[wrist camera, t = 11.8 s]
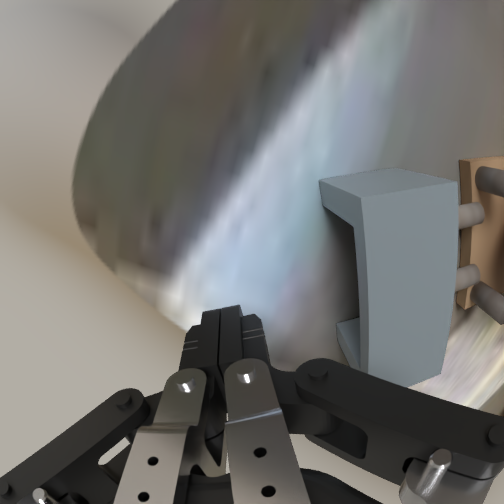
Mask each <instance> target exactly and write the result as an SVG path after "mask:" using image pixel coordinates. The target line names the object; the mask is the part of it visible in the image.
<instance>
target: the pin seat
mask: <svg viewBox="0 0 504 504" xmlns="http://www.w3.org/2000/svg"><path fill="white" fill-rule="evenodd" d="M459 165H460V180H461V205H458V230H459V229H461V256H460V268H458V269H457V271H456V283H455V292H457V291H458V292H457V300H456V303H458V304H459V305H460V306H461V307H462V308H463V309H467V308H469V307H472V306H474V305H478V306H479V307H480V308H481V309H482V310H484V311H485V312H486V313H487V314H489V315H490V316H491V317H492V318H493V319H494V320H496V321H497V322H498V323H499V324H501V325H502V324H504V296H502V295H501V293H503V292H504V156H497V157H485V158H474V159H463V160H459Z"/></svg>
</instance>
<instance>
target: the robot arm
mask: <svg viewBox="0 0 504 504" xmlns="http://www.w3.org/2000/svg"><path fill="white" fill-rule="evenodd" d="M184 343H185V344H184V346H183V351H182V357H181V361H180V366H179V371H178V372H176V373H174V374H173V375H172V376H170V377H169V379H168V380H167V382H166V385H165V387H164V390H163V391H161V392H159V393H157V394H153V395H150V396H147V397H144V396H143V394H142V393H141V392H140V391H139V390H137V389H133V388H129V389H123V390H120V391H118V392H116V393H115V394H113V395H112V396H111V397H109V398H108V399H107V400H105V402H103V403H102V404H100V405H99V406H98V407H96V408H95V409H94V410H92V411H91V412H90V413H88V414H87V415H86V416H84V417H83V418H82V419H80V420H79V421H78V422H76V423H75V424H74V425H72V426H71V427H70V428H68V429H67V430H66V431H65V432H63V433H62V434H60V435H59V436H58V437H56V438H55V439H54V440H52V441H51V442H50V443H48V444H47V445H45V446H44V447H43V448H41V449H40V450H39V451H37V452H36V453H34V454H33V455H32V456H30V457H29V458H27V459H26V460H25V461H23V462H22V463H21V464H19V465H18V466H16V467H15V468H14V469H12V470H11V471H9V472H8V473H7V474H5V475H4V476H2V477H1V478H0V504H382V503H381V502H379V501H377V500H375V499H373V498H371V497H369V496H367V495H365V494H363V493H362V492H360V491H358V490H356V489H355V488H353V487H351V486H349V485H348V484H346V483H344V482H342V481H341V480H339V479H337V478H335V477H333V476H331V475H329V474H326V473H323V472H320V471H316V470H311V469H303V468H299V465H298V462H297V458H296V455H295V452H294V449H293V446H292V443H291V439H290V436H289V434H304V435H305V436H306V438H307V439H308V440H310V441H311V442H313V443H315V444H317V445H318V446H320V447H322V448H324V449H326V450H327V451H329V452H331V453H333V454H335V455H337V456H339V457H340V458H342V459H344V460H346V461H348V462H350V463H352V464H354V465H356V466H358V467H360V468H362V469H364V470H366V471H368V472H370V473H372V474H375V475H377V476H379V477H381V478H383V479H386V480H388V481H390V482H392V483H395V484H397V485H399V486H400V490H399V497H400V500H401V502H402V504H483V502H484V500H485V498H486V496H487V493H488V491H489V489H490V487H491V484H492V482H493V480H494V479H495V478H496V477H497V475H498V474H499V473H500V472H501V470H502V469H503V468H504V417H502V416H498V415H495V414H491V413H487V412H483V411H480V410H476V409H473V408H469V407H466V406H462V405H459V404H456V403H452V402H449V401H446V400H443V399H440V398H436V397H433V396H430V395H427V394H424V393H421V392H418V391H415V390H412V389H409V388H406V387H403V386H400V385H397V384H395V383H392V382H389V381H386V380H383V379H381V378H378V377H375V376H372V375H370V374H367V373H364V372H362V371H359V370H356V369H354V368H351V367H348V366H346V365H343V364H341V363H338V362H336V361H333V360H330V359H325V358H319V359H313V360H309V361H307V362H305V363H303V364H302V365H301V366H299V367H298V369H297V370H296V372H285V371H280V370H277V369H275V368H273V367H272V366H271V364H270V359H269V353H268V348H267V344H266V339H265V335H264V331H263V326H262V322H261V319H260V318H259V317H257V316H256V315H255V314H251V315H247V316H243V315H242V311H241V307H240V305H235V306H230V307H225V308H222V309H215V310H210V311H205V312H203V313H202V319H201V325H195V326H192V327H191V328H190V330H189V331H188V332H187V333H186V337H185V341H184ZM226 413H228V421H227V419H226V418H227V417H226ZM124 437H126V439H127V440H128V441H129V443H130V444H129V445H128V446H127V447H126V448H125V449H123V450H122V451H121V452H120V453H119V454H117V455H116V456H115V457H114V458H112V459H111V460H110V461H109V462H108V463H106V464H104V465H99V464H98V461H99V459H100V457H101V456H102V455H104V454H105V453H106V452H107V451H109V450H110V449H111V448H112V447H113V446H115V445H116V444H117V443H118V442H120V441H121V440H122V439H123V438H124ZM227 452H228V460H229V468H230V473H228V474H226V457H227Z"/></svg>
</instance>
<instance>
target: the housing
mask: <svg viewBox="0 0 504 504" xmlns="http://www.w3.org/2000/svg"><path fill="white" fill-rule="evenodd" d="M319 184H320V190H321V197H322V203H323V206H325V207H326V208H328V209H329V210H331V211H332V212H333V213H335V214H336V215H338V216H339V217H340V218H342V219H343V220H345V221H346V222H347V223H349V224H350V225H352V226H353V227H354V236H355V247H356V258H357V272H358V288H359V308H360V317H359V318H355V319H352V320H348V321H344V322H340V323H336V326H337V340H338V342H339V344H340V346H341V348H342V351H343V353H344V355H345V357H346V359H347V361H348V363H349V365H350V367H351V368H354V369H356V370H359V371H362V372H364V373H367V374H370V375H372V376H375V377H378V378H381V379H383V380H386V381H389V382H392V383H395V384H397V385H400V386H403V387H406V388H407V387H410V386H412V385H415V384H417V383H420V382H422V381H425V380H427V379H429V378H432V377H434V376H437V375H439V374H441V370H442V366H443V361H444V357H445V352H446V346H447V341H448V336H449V330H450V323H451V317H452V310H453V302H454V293H455V283H456V271H457V256H458V184H457V181H453V180H449V179H444V178H440V177H436V176H432V175H427V174H422V173H418V172H413V171H408V170H403V169H398V168H389V169H382V170H376V171H369V172H363V173H356V174H350V175H344V176H338V177H332V178H326V179H321V180H319Z"/></svg>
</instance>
